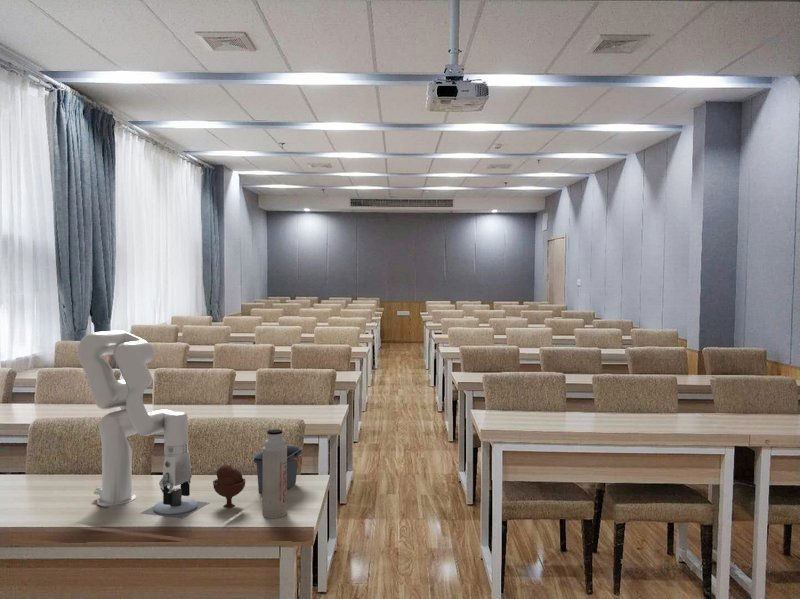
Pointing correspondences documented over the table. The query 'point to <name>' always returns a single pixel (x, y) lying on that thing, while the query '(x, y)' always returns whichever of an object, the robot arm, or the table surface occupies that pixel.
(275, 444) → the thermos bottle
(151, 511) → the mat
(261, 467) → the storage bin
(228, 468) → the ice cream bowl
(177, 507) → the lid
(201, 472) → the table surface
